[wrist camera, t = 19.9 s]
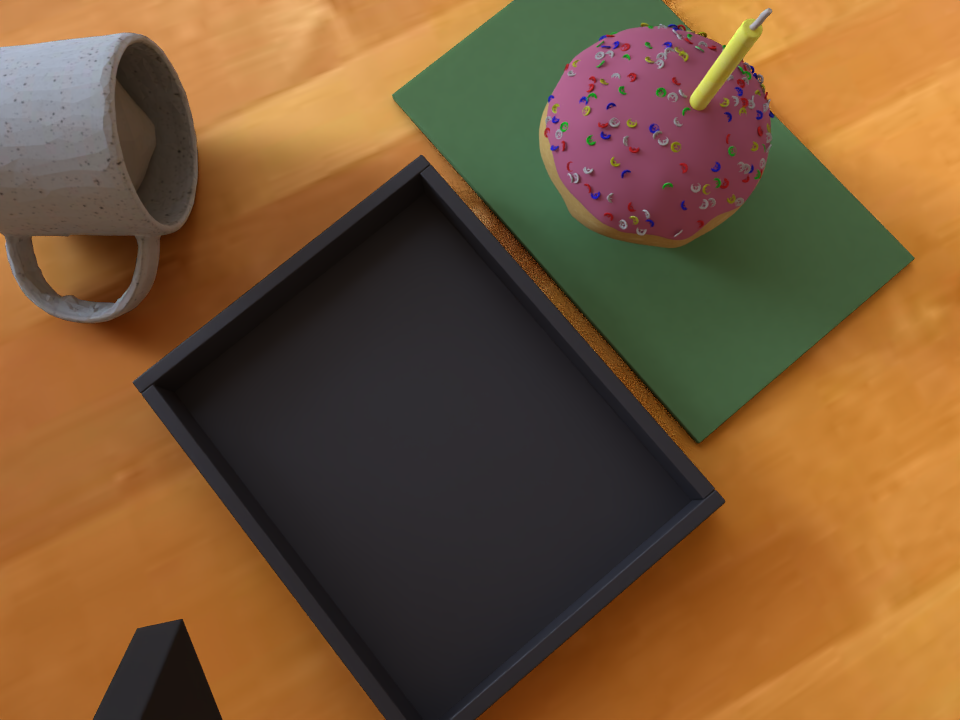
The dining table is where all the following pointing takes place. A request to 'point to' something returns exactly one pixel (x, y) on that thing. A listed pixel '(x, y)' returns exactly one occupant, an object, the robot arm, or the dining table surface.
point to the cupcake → (658, 133)
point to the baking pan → (426, 451)
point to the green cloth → (642, 268)
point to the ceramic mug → (92, 157)
